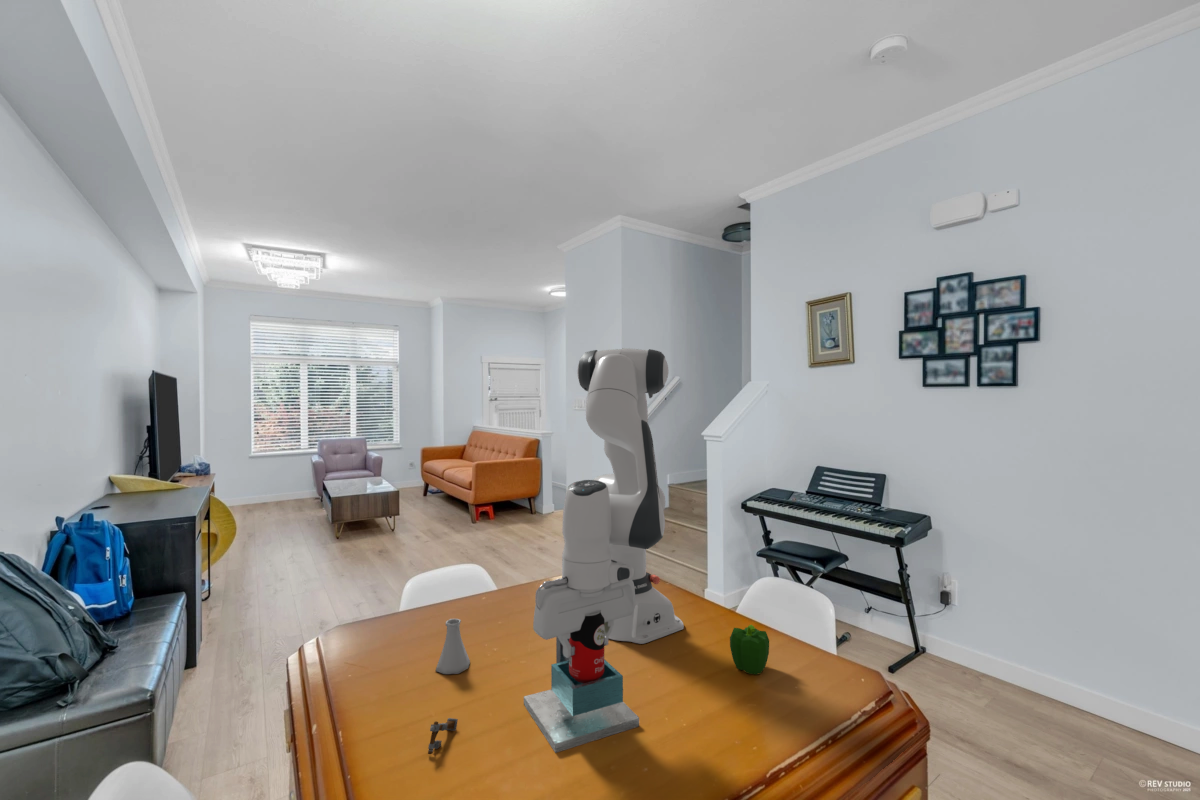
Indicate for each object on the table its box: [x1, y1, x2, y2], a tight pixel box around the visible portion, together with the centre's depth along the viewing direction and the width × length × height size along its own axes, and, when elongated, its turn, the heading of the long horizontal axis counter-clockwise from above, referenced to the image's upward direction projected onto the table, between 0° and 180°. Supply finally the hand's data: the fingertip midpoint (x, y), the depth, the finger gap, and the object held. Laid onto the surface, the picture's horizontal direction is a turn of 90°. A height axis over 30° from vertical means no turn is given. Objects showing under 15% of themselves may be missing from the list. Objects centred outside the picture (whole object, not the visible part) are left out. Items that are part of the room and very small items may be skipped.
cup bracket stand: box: [523, 637, 640, 754], centre depth 98 cm, size 16×16×20 cm
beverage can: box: [569, 610, 605, 683], centre depth 95 cm, size 6×6×12 cm
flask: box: [435, 618, 471, 675], centre depth 116 cm, size 7×7×10 cm
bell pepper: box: [729, 624, 770, 675], centre depth 115 cm, size 8×8×10 cm
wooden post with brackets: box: [427, 717, 459, 755], centre depth 89 cm, size 2×8×4 cm, turn 169°
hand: (586, 650), depth 95 cm, fingers closed on beverage can, 6 cm apart
